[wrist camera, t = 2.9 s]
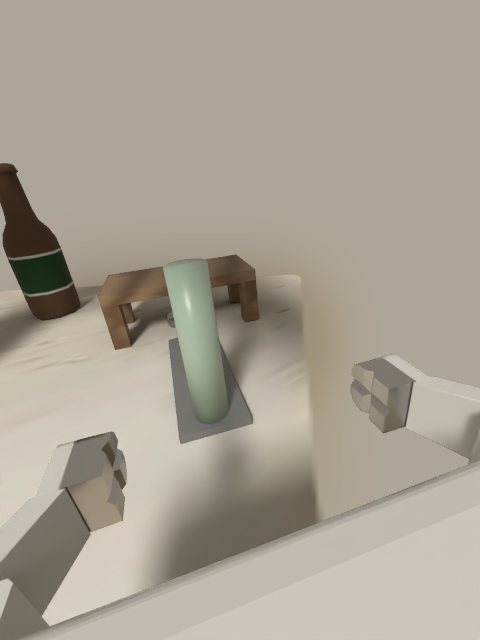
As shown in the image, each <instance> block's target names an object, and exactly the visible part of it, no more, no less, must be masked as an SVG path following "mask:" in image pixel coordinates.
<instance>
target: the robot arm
mask: <svg viewBox="0 0 480 640" xmlns="http://www.w3.org/2000/svg"><path fill="white" fill-rule="evenodd" d="M352 376H353V377H354V378H355V380H354V381H353V383H352V384H351V395H352V398H353V400H354V402H355V404H356V405H357V407H358V408H359V409H360V410H361V411H364V412H366V413H369V417H370V420H371V421H372V422H373V423H374V424H375V425H376V426H377V427H378V428H379V429H380V430H381V431H382V432H383V433H386V432H389V431H392V430H395V429H399V428H402V427H406V428H407V429H409V430H411V431H413V432H415V433H417V434H419V435H422V436H424V437H425V438H428V439H430V440H432V441H434V442H436V443H438V444H440V445H442V446H444V447H446V448H448V449H450V450H452V451H454V452H457V453H458V454H461V455H462V456H465V457H467V458H469V459H470V461H469V464H468V465H466V466H464V467H461V468H459V469H456V470H453V471H451V472H449V473H446V474H443V475H440V476H438V477H435V478H433V479H430V480H428V481H425V482H422V483H420V484H418V485H415V486H412V487H409V488H407V489H404V490H402V491H399V492H397V493H394V494H392V495H389V496H386V497H384V498H381V499H379V500H376V501H374V502H371V503H368V504H366V505H363V506H360V507H358V508H355V509H353V510H350V511H348V512H345V513H342V514H340V515H337V516H335V517H332V518H330V519H327V520H324V521H322V522H319V523H317V524H314V525H311V526H309V527H306V528H304V529H301V530H298V531H296V532H293V533H291V534H288V535H286V536H283V537H280V538H278V539H275V540H273V541H270V542H267V543H265V544H262V545H260V546H257V547H254V548H252V549H249V550H247V551H244V552H242V553H239V554H236V555H234V556H231V557H229V558H226V559H223V560H221V561H218V562H216V563H213V564H210V565H208V566H205V567H203V568H200V569H198V570H195V571H192V572H190V573H187V574H185V575H182V576H179V577H177V578H174V579H172V580H169V581H166V582H164V583H161V584H159V585H156V586H154V587H151V588H148V589H146V590H143V591H141V592H138V593H135V594H133V595H130V596H128V597H125V598H122V599H120V600H117V601H115V602H112V603H110V604H107V605H104V606H102V607H99V608H97V609H94V610H91V611H89V612H86V613H84V614H81V615H78V616H76V617H73V618H71V619H68V620H66V621H63V622H60V623H58V624H55V625H53V626H49V625H48V624H47V622H46V621H45V620H44V619H43V618H42V617H41V616H42V615H43V613H44V611H45V610H46V608H47V606H48V605H49V603H50V601H51V600H52V598H53V596H54V595H55V593H56V591H57V590H58V588H59V586H60V585H61V583H62V581H63V580H64V578H65V576H66V575H67V573H68V571H69V570H70V568H71V566H72V565H73V563H74V561H75V560H76V558H77V556H78V555H79V553H80V551H81V550H82V548H83V546H84V545H85V543H86V541H87V540H88V538H89V536H90V535H91V534H90V532H93V531H96V530H98V529H101V528H104V527H107V526H109V525H112V524H115V523H117V522H120V521H123V514H124V503H125V497H124V494H123V492H122V489H123V488H124V486H125V485H126V480H127V470H126V462H125V458H124V455H123V452H122V451H120V450H119V449H117V443H118V440H117V438H116V435H115V433H114V432H108V433H104V434H100V435H96V436H92V437H88V438H84V439H80V440H77V441H73V442H69V443H65V444H61V445H58V446H57V447H56V448H55V449H54V451H53V454H52V456H51V459H50V462H49V464H48V467H47V469H46V472H45V474H44V477H43V480H42V482H41V485H40V487H39V490H38V493H37V495H36V497H34V498H31V499H29V500H28V501H27V502H26V503H25V504H24V505H23V506H22V507H21V508H20V509H19V510H18V511H17V512H16V513H15V514H14V515H13V516H12V517H11V518H10V519H9V520H8V521H7V522H6V523H5V525H4V526H3V527H2V528H1V529H0V640H480V388H478V387H473V386H470V385H466V384H462V383H458V382H454V381H450V380H446V379H442V378H438V377H431V378H430V377H429V376H427V375H426V374H424V373H423V372H421V371H420V370H418V369H417V368H415V367H414V366H412V365H411V364H409V363H407V362H406V361H404V360H403V359H401V358H400V357H398V356H397V355H394V354H389V355H386V356H383V357H379V358H377V359H373V360H370V361H366V362H363V363H359V364H356V365H354V366H353V368H352Z"/></svg>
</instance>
